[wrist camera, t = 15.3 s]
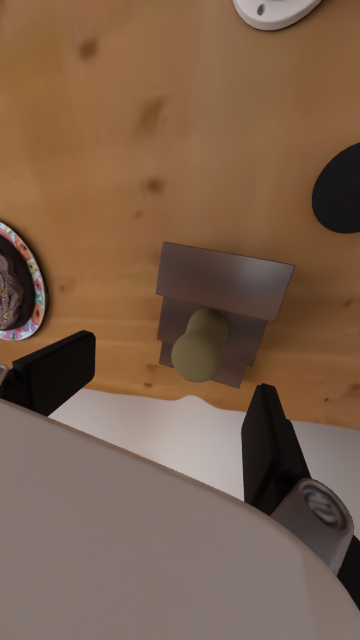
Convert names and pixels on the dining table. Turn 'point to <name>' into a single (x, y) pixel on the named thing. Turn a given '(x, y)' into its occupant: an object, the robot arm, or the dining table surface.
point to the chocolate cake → (19, 288)
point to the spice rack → (219, 300)
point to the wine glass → (339, 192)
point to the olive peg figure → (201, 346)
